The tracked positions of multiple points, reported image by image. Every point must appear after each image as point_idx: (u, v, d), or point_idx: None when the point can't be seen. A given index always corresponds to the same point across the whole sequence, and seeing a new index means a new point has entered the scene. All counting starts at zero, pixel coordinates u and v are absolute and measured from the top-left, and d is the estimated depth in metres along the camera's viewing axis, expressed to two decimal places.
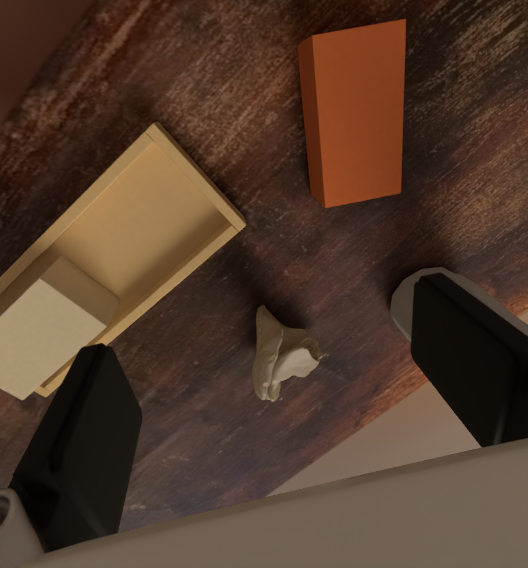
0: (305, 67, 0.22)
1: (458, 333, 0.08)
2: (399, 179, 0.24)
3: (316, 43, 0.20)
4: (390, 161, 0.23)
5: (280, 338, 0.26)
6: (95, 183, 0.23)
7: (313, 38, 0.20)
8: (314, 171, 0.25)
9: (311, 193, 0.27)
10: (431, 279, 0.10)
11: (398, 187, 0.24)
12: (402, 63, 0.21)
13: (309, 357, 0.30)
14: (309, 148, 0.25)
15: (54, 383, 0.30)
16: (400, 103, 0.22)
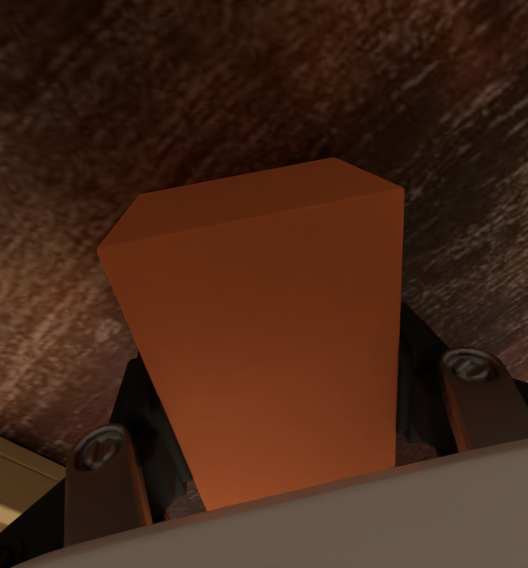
0: None
1: None
2: None
3: (115, 269, 0.06)
4: (367, 466, 0.10)
5: None
6: None
7: (102, 257, 0.06)
8: None
9: None
10: None
11: None
12: (394, 294, 0.07)
13: None
14: None
15: None
16: (390, 372, 0.08)
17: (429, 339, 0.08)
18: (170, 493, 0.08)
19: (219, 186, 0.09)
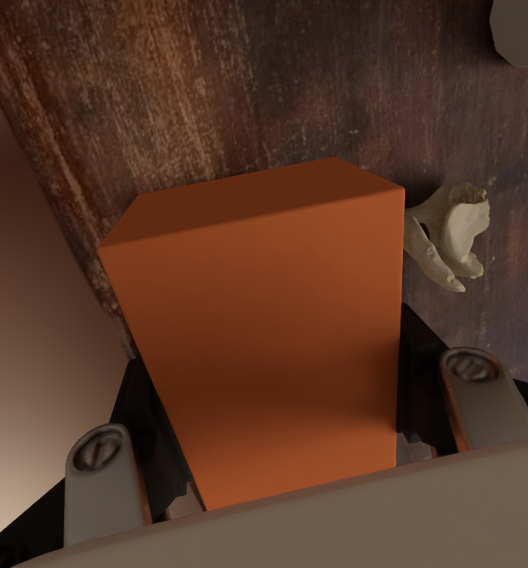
0: None
1: None
2: None
3: (116, 270, 0.06)
4: (368, 466, 0.10)
5: (418, 228, 0.21)
6: None
7: (102, 257, 0.06)
8: None
9: None
10: None
11: None
12: (394, 293, 0.07)
13: (471, 207, 0.24)
14: None
15: None
16: (390, 372, 0.08)
17: (429, 338, 0.08)
18: (170, 493, 0.08)
19: (219, 186, 0.09)
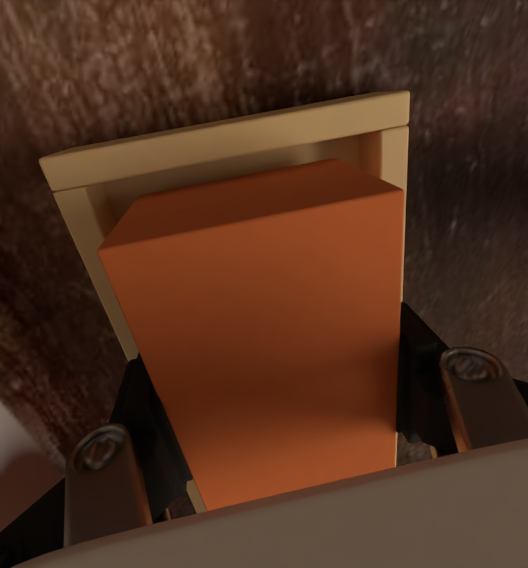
0: None
1: None
2: None
3: (116, 271, 0.06)
4: (368, 467, 0.10)
5: None
6: (124, 347, 0.11)
7: (102, 259, 0.06)
8: None
9: None
10: None
11: None
12: (394, 295, 0.07)
13: None
14: None
15: None
16: (390, 373, 0.08)
17: (429, 339, 0.08)
18: (170, 493, 0.08)
19: (219, 187, 0.09)
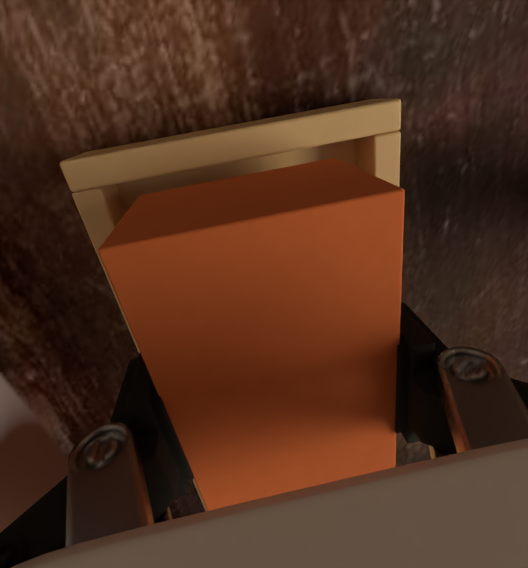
0: None
1: None
2: None
3: (117, 270, 0.06)
4: (368, 466, 0.10)
5: None
6: None
7: (103, 258, 0.06)
8: None
9: None
10: None
11: None
12: (394, 294, 0.07)
13: None
14: None
15: None
16: (390, 372, 0.08)
17: (427, 338, 0.08)
18: (171, 492, 0.08)
19: (220, 187, 0.09)
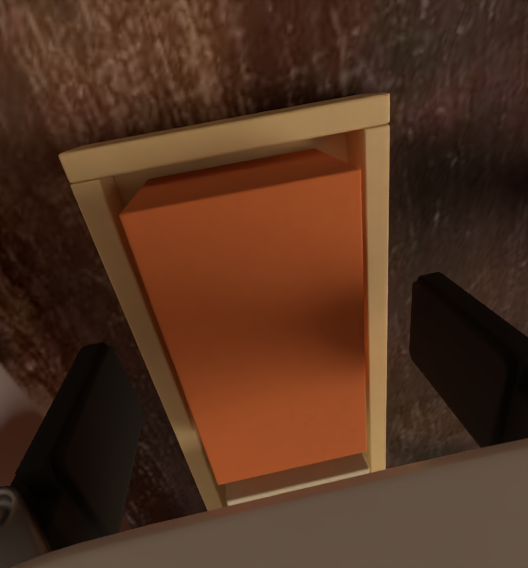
0: None
1: (456, 333, 0.08)
2: (362, 434, 0.12)
3: (133, 232, 0.08)
4: (342, 412, 0.11)
5: None
6: (133, 327, 0.12)
7: (123, 221, 0.08)
8: None
9: None
10: (430, 279, 0.10)
11: (361, 445, 0.12)
12: (357, 256, 0.09)
13: None
14: None
15: None
16: (357, 326, 0.10)
17: None
18: None
19: (216, 171, 0.10)
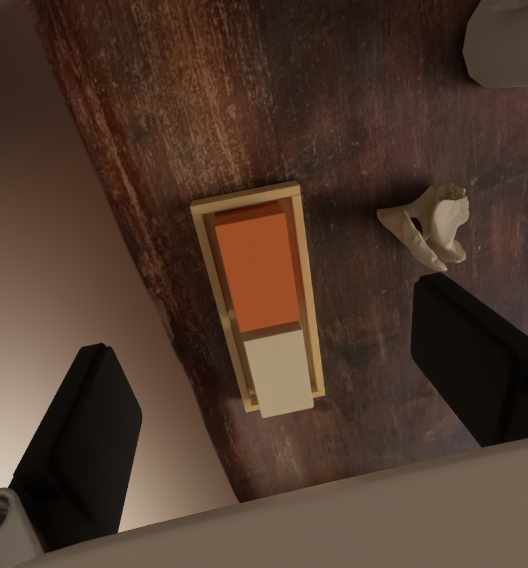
0: None
1: (458, 333, 0.08)
2: (297, 311, 0.31)
3: (218, 231, 0.27)
4: (287, 300, 0.30)
5: (408, 220, 0.27)
6: (207, 268, 0.31)
7: (215, 228, 0.27)
8: None
9: None
10: (431, 279, 0.10)
11: (297, 316, 0.31)
12: (286, 239, 0.28)
13: (453, 202, 0.29)
14: None
15: (319, 384, 0.38)
16: (289, 263, 0.29)
17: None
18: None
19: (240, 210, 0.29)
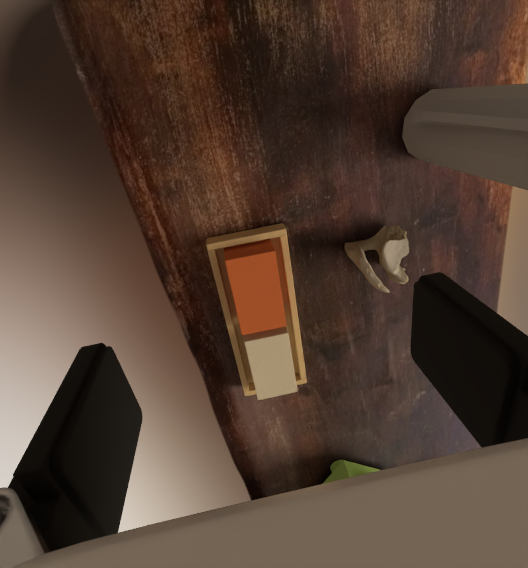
0: None
1: (458, 333, 0.08)
2: (284, 319, 0.42)
3: (227, 264, 0.37)
4: (277, 311, 0.41)
5: (362, 256, 0.37)
6: (218, 288, 0.41)
7: (225, 262, 0.37)
8: None
9: None
10: (431, 279, 0.10)
11: (284, 323, 0.42)
12: (276, 269, 0.38)
13: (397, 241, 0.40)
14: None
15: (302, 374, 0.49)
16: (278, 286, 0.39)
17: None
18: None
19: (242, 246, 0.40)
